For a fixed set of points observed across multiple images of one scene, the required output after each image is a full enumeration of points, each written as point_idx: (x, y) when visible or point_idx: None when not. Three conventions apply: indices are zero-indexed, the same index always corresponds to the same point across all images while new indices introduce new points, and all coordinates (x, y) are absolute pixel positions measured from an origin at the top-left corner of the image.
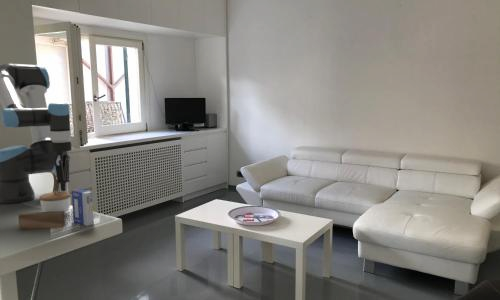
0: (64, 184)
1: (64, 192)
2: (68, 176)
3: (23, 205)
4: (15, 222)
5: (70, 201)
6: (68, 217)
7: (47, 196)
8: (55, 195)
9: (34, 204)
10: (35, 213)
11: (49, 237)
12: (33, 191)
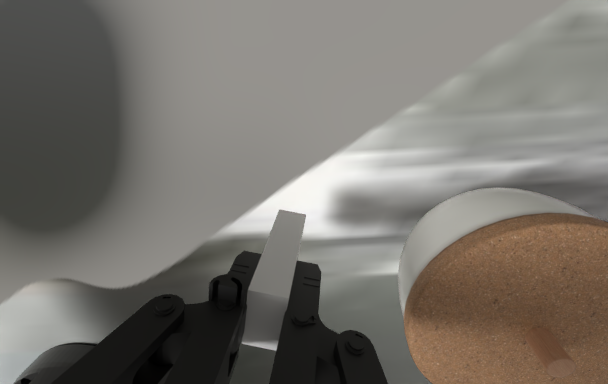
0: (310, 307)
1: (494, 275)
2: (157, 324)
3: None
4: None
5: (518, 194)
6: (586, 173)
7: (583, 379)
8: (587, 334)
9: None
10: None
11: None
12: (56, 375)
